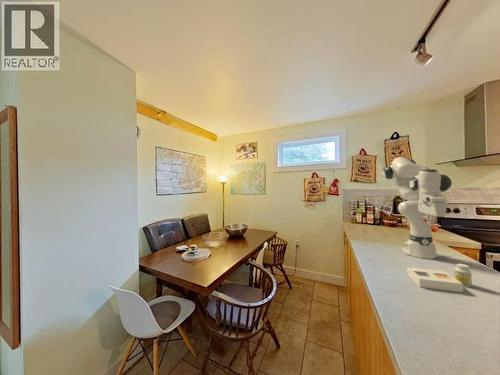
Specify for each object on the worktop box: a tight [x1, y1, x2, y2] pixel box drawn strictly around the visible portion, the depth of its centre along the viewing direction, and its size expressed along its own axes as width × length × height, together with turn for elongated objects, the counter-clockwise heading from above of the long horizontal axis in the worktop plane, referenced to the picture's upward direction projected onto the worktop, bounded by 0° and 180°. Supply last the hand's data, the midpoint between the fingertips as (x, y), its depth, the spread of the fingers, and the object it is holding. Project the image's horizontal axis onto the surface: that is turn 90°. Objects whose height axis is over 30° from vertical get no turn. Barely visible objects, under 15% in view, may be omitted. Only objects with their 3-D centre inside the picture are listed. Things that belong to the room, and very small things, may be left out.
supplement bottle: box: [454, 263, 473, 288], centre depth 92 cm, size 5×5×10 cm
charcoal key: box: [415, 272, 430, 277], centre depth 96 cm, size 5×5×3 cm
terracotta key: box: [436, 275, 450, 279], centre depth 94 cm, size 5×5×3 cm
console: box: [406, 267, 464, 293], centre depth 95 cm, size 14×16×4 cm
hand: (431, 222), depth 104 cm, fingers closed
